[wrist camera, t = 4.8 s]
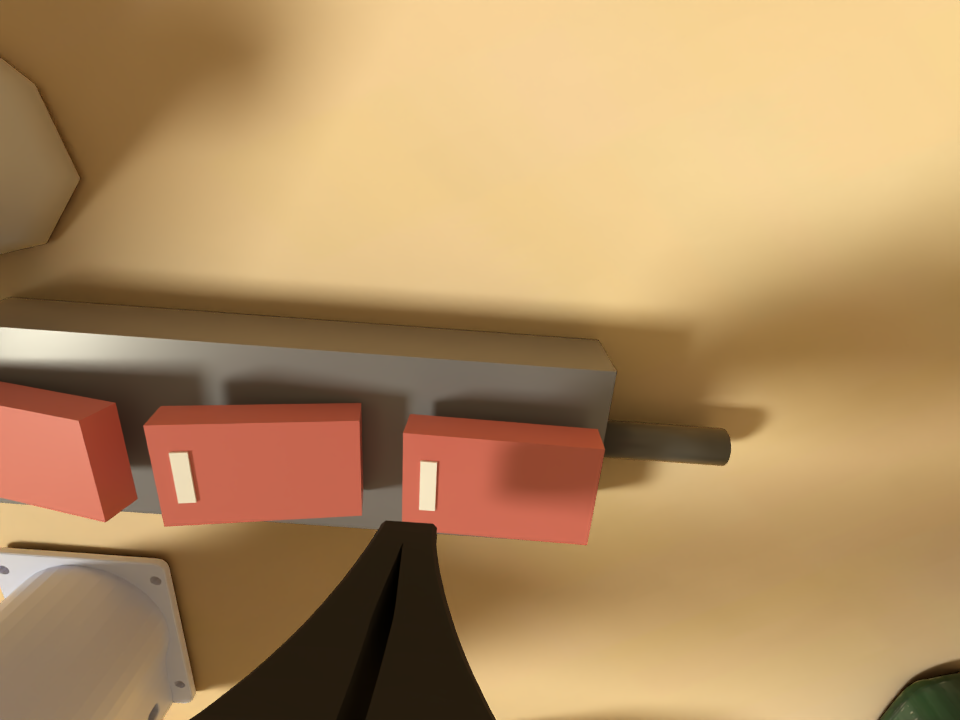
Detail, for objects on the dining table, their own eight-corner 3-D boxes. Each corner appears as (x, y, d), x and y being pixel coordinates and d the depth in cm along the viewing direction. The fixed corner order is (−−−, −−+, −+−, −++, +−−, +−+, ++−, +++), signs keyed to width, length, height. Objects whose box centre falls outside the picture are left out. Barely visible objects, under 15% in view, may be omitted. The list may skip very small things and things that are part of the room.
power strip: (689, 502, 21) (723, 561, 18) (57, 457, 21) (-19, 509, 18) (731, 349, 19) (779, 388, 16) (10, 297, 19) (-88, 325, 15)
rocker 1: (137, 498, 17) (103, 523, 16) (-7, 466, 18) (-50, 487, 17) (115, 402, 15) (76, 422, 14) (-40, 373, 16) (-89, 389, 15)
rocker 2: (363, 492, 18) (361, 517, 17) (179, 501, 17) (163, 528, 16) (361, 402, 16) (359, 421, 15) (160, 405, 15) (141, 426, 14)
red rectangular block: (581, 520, 17) (587, 546, 16) (408, 505, 17) (401, 531, 16) (598, 429, 16) (605, 450, 15) (410, 413, 16) (402, 434, 15)
